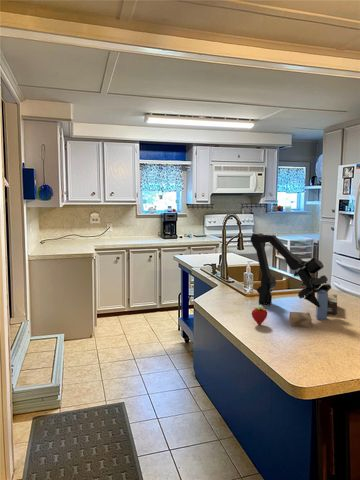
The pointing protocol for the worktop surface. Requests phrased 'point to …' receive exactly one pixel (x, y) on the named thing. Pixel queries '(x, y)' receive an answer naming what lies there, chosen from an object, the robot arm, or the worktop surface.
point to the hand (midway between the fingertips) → (324, 305)
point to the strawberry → (259, 315)
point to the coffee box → (332, 304)
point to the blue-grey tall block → (322, 305)
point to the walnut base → (300, 319)
